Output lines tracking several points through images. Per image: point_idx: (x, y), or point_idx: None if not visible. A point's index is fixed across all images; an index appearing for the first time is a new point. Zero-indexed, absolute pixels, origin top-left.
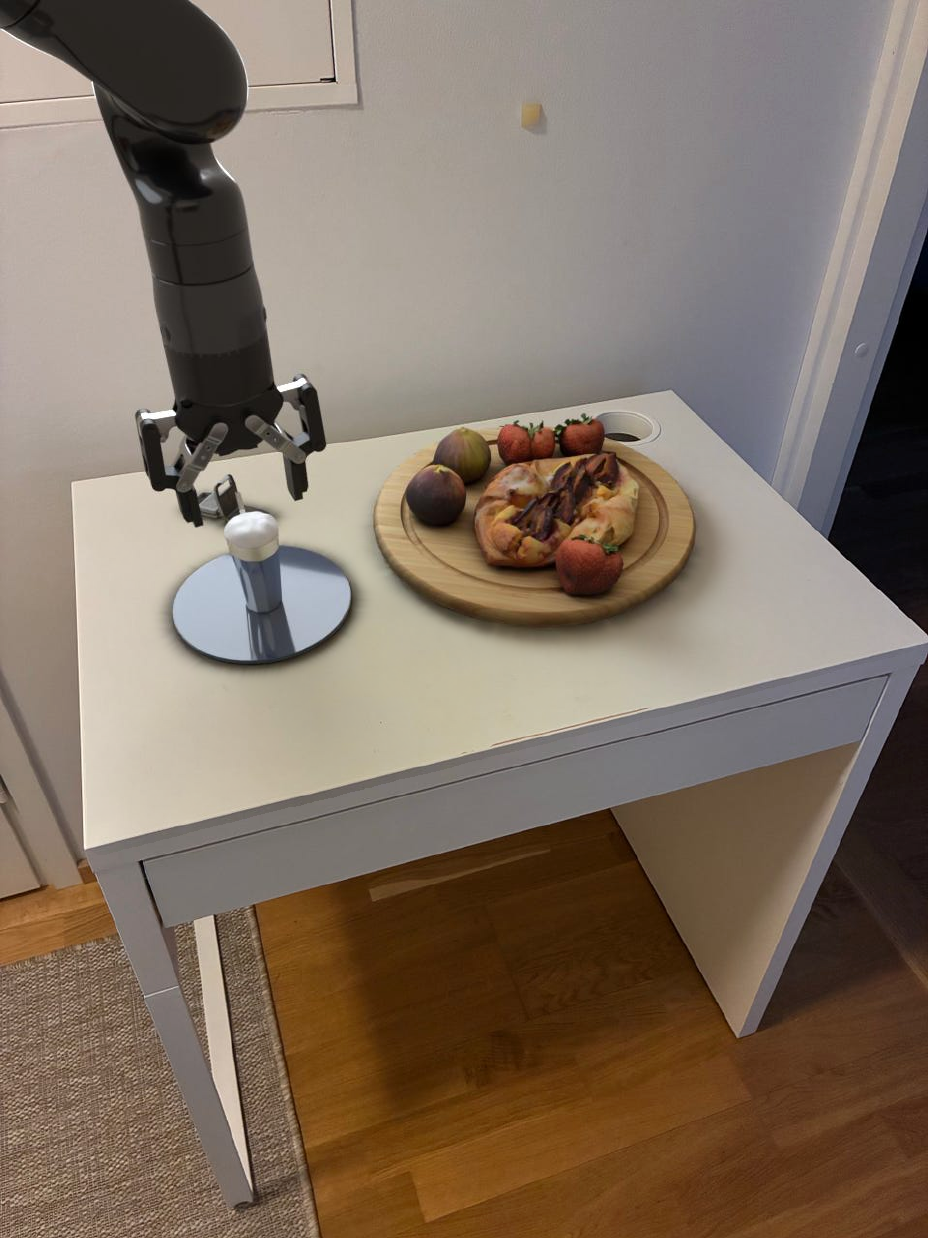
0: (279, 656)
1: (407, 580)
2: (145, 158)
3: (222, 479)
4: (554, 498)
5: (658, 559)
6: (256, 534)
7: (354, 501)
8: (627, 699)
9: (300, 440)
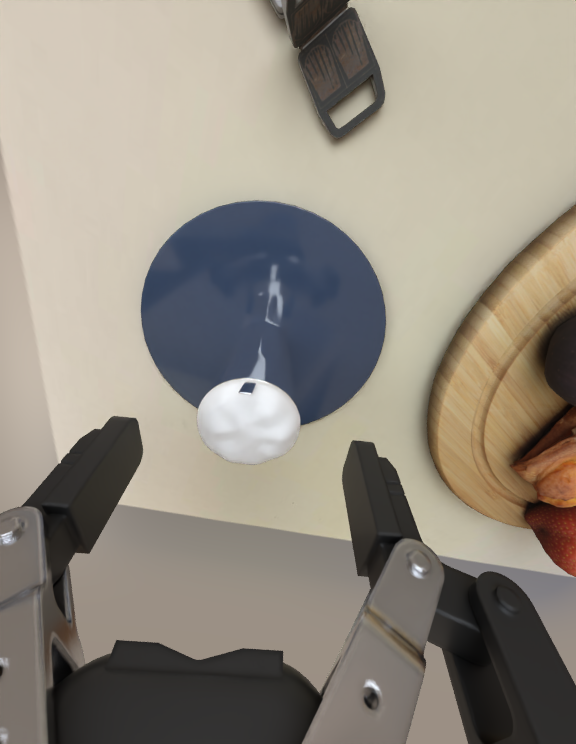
0: None
1: (429, 412)
2: None
3: None
4: None
5: None
6: (245, 463)
7: (545, 153)
8: (453, 551)
9: (434, 629)
